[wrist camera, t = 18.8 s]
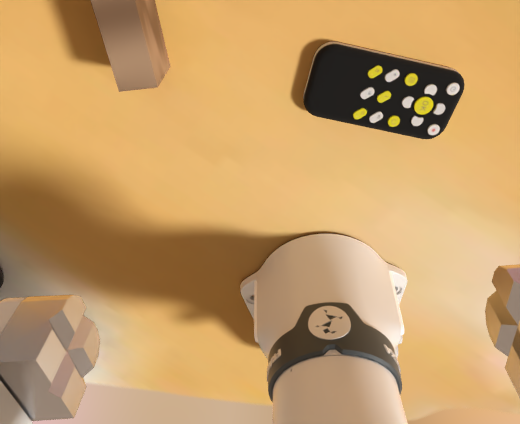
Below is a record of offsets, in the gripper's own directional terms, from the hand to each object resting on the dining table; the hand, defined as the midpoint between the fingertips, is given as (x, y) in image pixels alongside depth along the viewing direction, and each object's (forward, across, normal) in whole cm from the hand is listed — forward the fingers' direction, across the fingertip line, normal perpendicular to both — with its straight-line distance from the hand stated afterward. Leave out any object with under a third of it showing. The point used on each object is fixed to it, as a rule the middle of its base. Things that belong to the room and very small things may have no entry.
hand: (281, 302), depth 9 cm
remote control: (+32, -8, +8) cm, 34 cm away
